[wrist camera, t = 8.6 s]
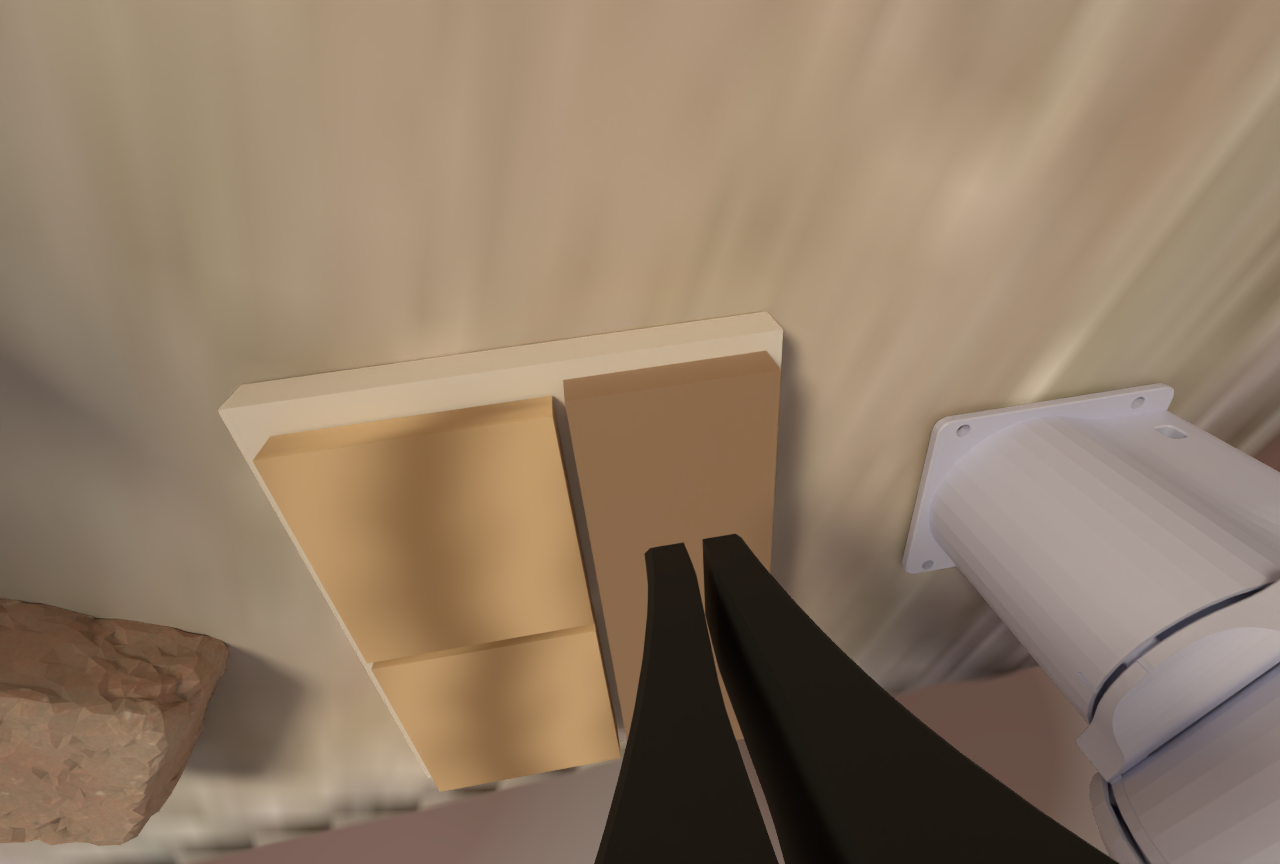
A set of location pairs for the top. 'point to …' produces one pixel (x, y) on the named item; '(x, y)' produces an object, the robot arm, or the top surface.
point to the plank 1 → (437, 525)
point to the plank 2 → (505, 706)
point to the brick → (95, 721)
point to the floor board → (591, 449)
